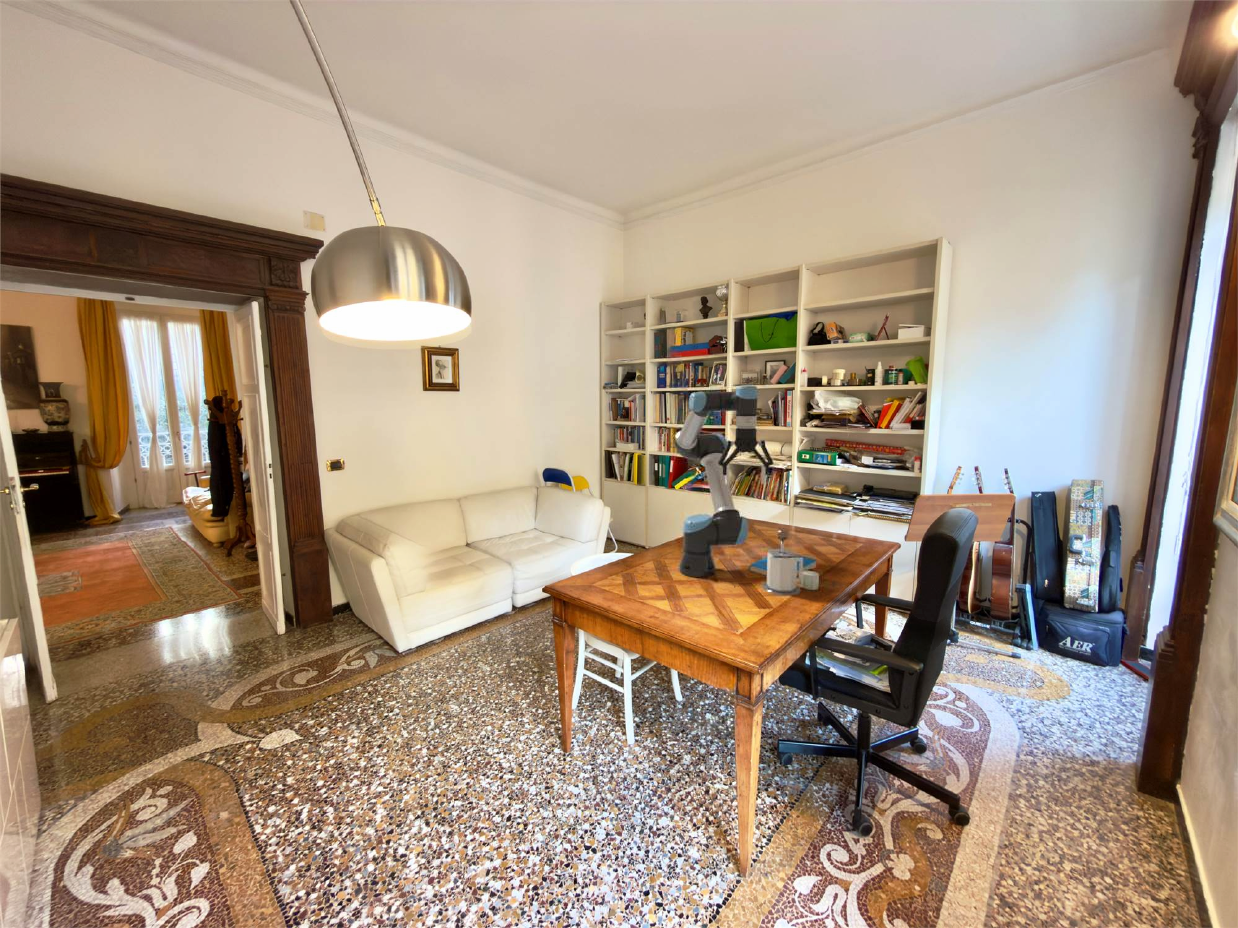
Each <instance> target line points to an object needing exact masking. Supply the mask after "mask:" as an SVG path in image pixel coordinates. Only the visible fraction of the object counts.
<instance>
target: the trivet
mask: <svg viewBox="0 0 1238 928" xmlns="http://www.w3.org/2000/svg"><path fill="white" fill-rule="evenodd" d="M761 588H762V590H764V591H765V592H767V593H770V594H773V595H778V596H795V595H799V594H800V593H801V591H802V589H801V588H802V587H800V586H798V585H797V584H796V591H794V592H792V593H777V592H774V591H771V590H769V589H768V588H767V581H765V582H763V583H762V584H761Z"/></svg>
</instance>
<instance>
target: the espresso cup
mask: <svg viewBox="0 0 1238 928" xmlns="http://www.w3.org/2000/svg"><path fill="white" fill-rule="evenodd" d="M819 578H820V574H819V573H818V572H817V571H813V570H812V571H811V570H807V571H803V573H802V582H800V584H801V585H800V586H801V588H803V589H805V590H809V591H816V590H819V581H820V579H819Z"/></svg>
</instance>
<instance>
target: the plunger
mask: <svg viewBox="0 0 1238 928" xmlns="http://www.w3.org/2000/svg"><path fill="white" fill-rule="evenodd" d="M777 539H779V540H780V549H781V554H784V549H785V540H788V539H789V529H787V528H786V529H785V528H779V529H778V530H777Z"/></svg>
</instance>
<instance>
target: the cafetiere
mask: <svg viewBox="0 0 1238 928" xmlns="http://www.w3.org/2000/svg"><path fill="white" fill-rule="evenodd" d="M767 550H768V551H767V557H766V558H767V575H766V582H767V588H768V589H769V590H771V591H774V592H777V593H792V592H794V591H796V585H797V583H802V573H803V558H797V555H798V554H797V553H795V552H794V551H793V550H792V549H788V548H787V549H785V548H784V554H781V548H773V549H772V548H770V549H767ZM797 561H799V575H797ZM797 576H798V577H797Z"/></svg>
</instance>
